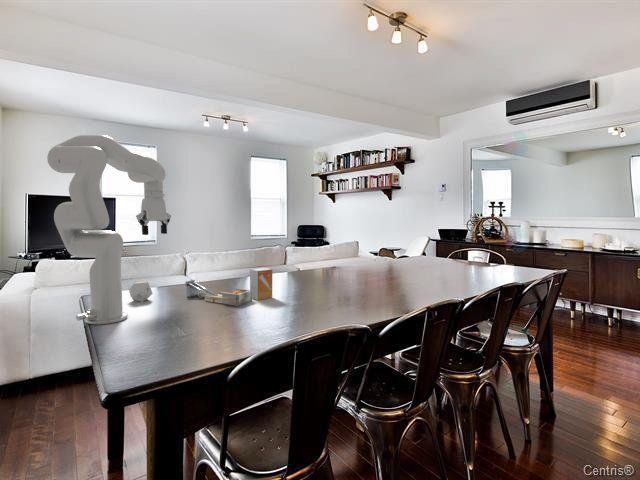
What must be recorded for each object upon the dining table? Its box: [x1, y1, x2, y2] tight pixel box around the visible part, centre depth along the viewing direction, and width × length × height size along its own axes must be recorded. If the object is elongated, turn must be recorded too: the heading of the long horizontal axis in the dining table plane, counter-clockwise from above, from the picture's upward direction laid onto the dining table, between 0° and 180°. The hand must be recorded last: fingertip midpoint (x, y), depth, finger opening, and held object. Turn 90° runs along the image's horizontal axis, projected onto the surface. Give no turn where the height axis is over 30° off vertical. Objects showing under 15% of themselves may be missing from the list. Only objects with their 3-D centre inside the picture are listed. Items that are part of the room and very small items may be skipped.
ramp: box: [184, 279, 217, 299], centre depth 161 cm, size 5×15×7 cm, turn 64°
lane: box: [204, 288, 253, 307], centre depth 155 cm, size 10×18×4 cm, turn 64°
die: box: [128, 281, 153, 303], centre depth 154 cm, size 8×9×10 cm
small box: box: [249, 267, 273, 301], centre depth 160 cm, size 8×6×13 cm
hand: (154, 234), depth 160 cm, fingers open, 9 cm apart
